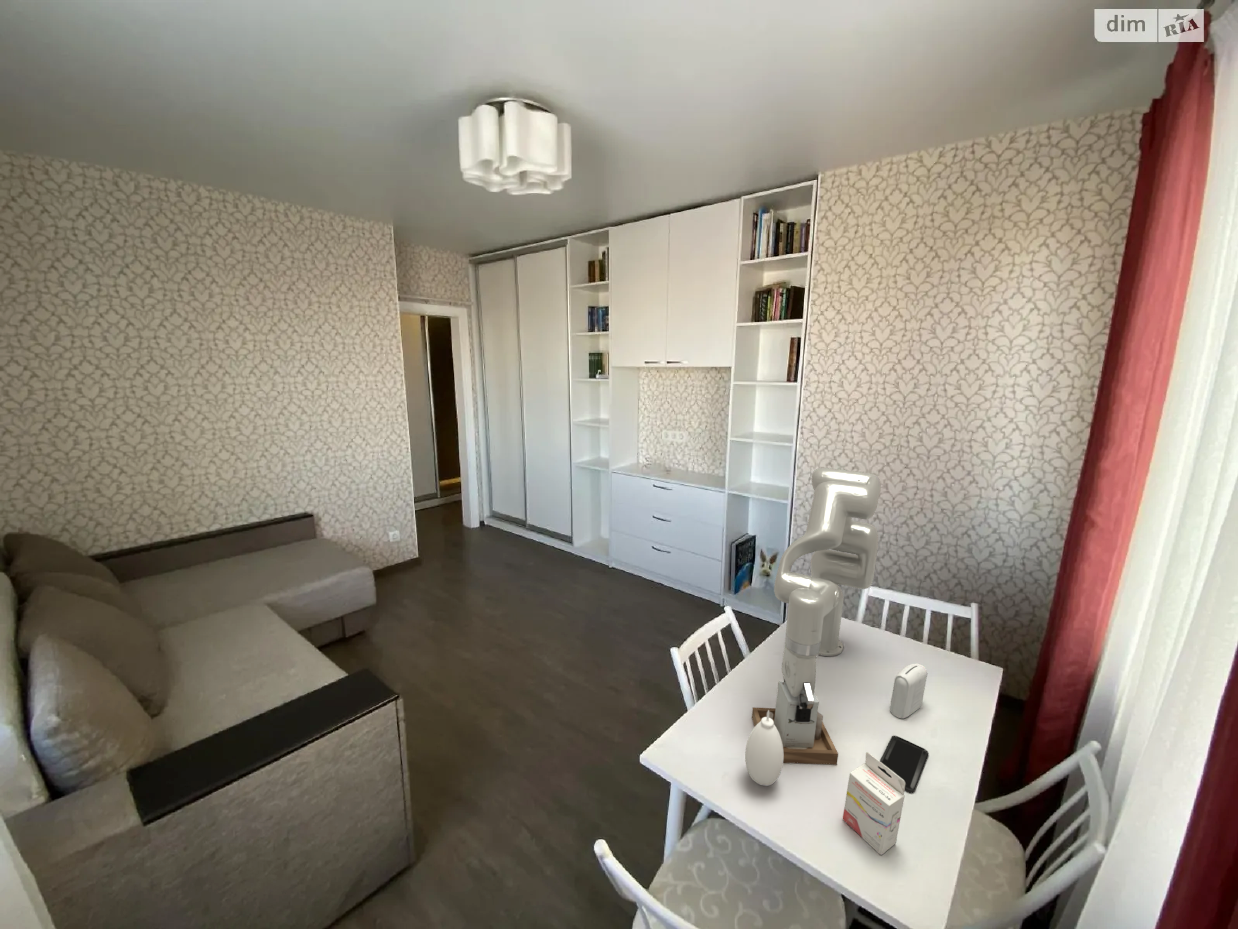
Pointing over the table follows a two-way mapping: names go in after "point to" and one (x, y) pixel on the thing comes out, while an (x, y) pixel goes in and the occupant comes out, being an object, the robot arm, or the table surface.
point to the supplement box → (786, 723)
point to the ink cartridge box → (874, 804)
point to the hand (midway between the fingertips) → (795, 705)
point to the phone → (904, 761)
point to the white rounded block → (908, 690)
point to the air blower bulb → (764, 752)
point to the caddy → (817, 754)
